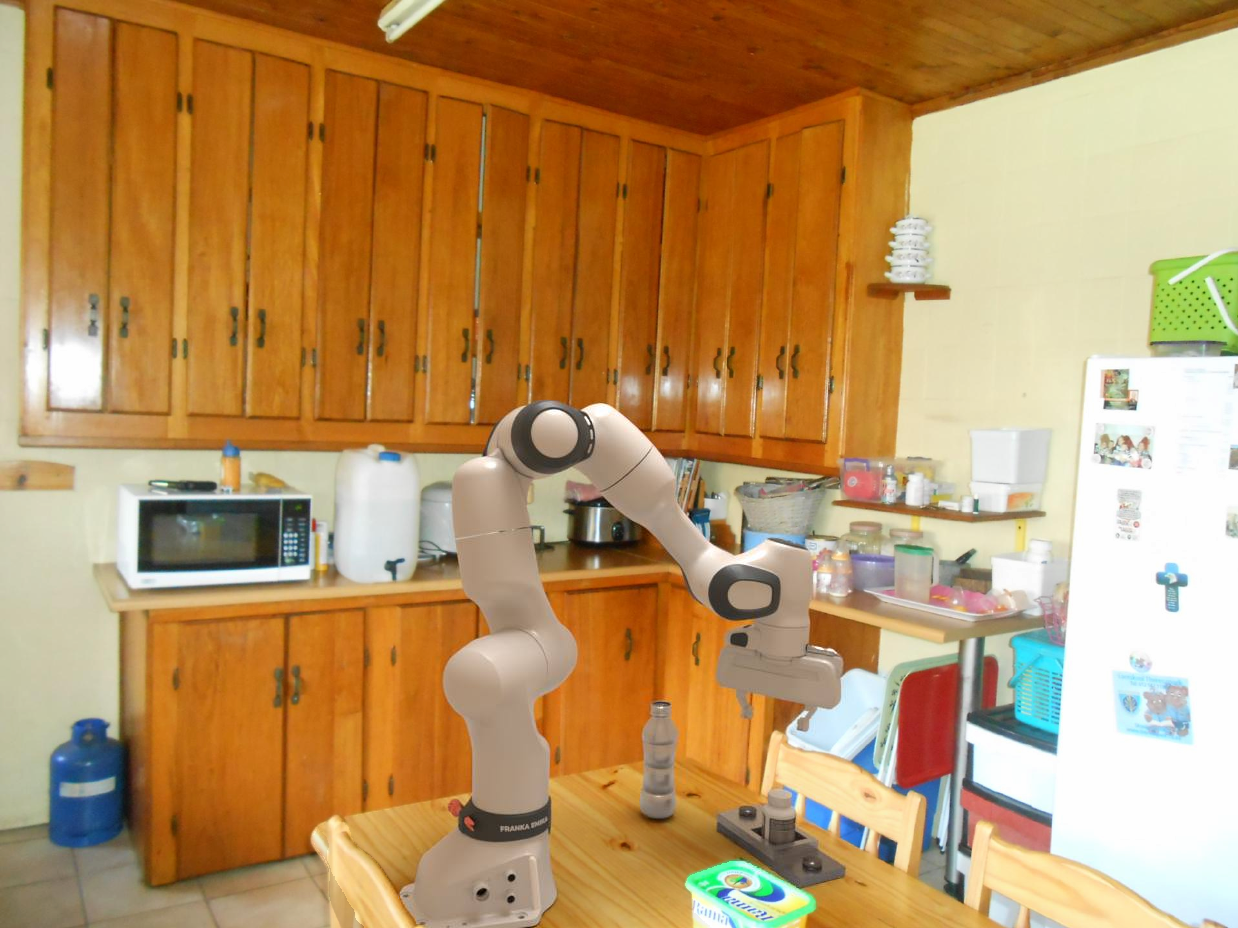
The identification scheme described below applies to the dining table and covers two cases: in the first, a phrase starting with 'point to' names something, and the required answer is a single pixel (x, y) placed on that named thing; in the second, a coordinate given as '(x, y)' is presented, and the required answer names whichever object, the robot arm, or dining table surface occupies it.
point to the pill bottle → (778, 818)
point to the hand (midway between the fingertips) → (774, 723)
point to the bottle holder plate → (779, 848)
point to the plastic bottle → (659, 762)
